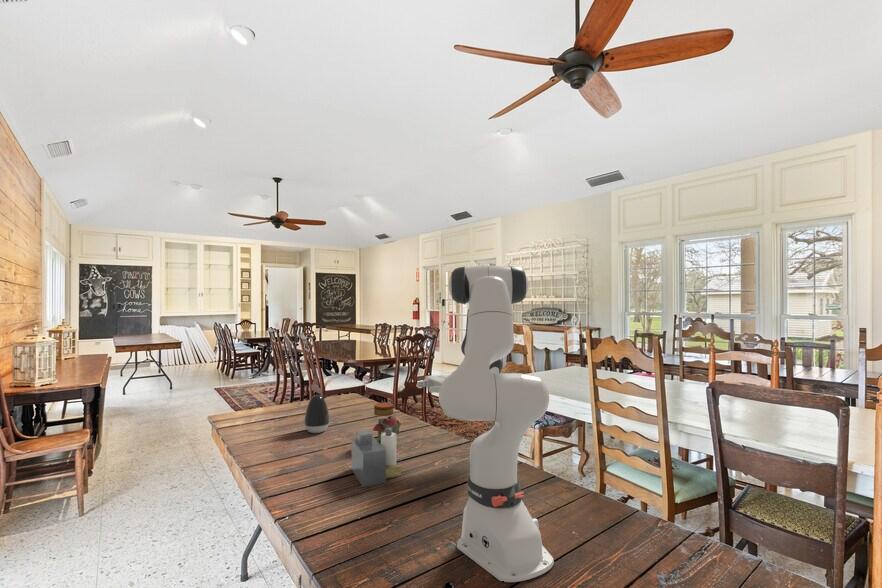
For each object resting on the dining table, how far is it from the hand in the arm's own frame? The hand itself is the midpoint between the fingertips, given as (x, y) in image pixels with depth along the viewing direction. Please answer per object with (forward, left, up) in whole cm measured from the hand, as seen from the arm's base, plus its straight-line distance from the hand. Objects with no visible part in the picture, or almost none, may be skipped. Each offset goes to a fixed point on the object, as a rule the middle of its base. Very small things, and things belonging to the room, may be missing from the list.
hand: (423, 387), depth 142 cm
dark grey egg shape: (+51, +26, -27) cm, 63 cm away
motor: (+1, +16, -26) cm, 31 cm away
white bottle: (0, +12, -26) cm, 29 cm away
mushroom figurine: (+25, +5, -27) cm, 37 cm away
